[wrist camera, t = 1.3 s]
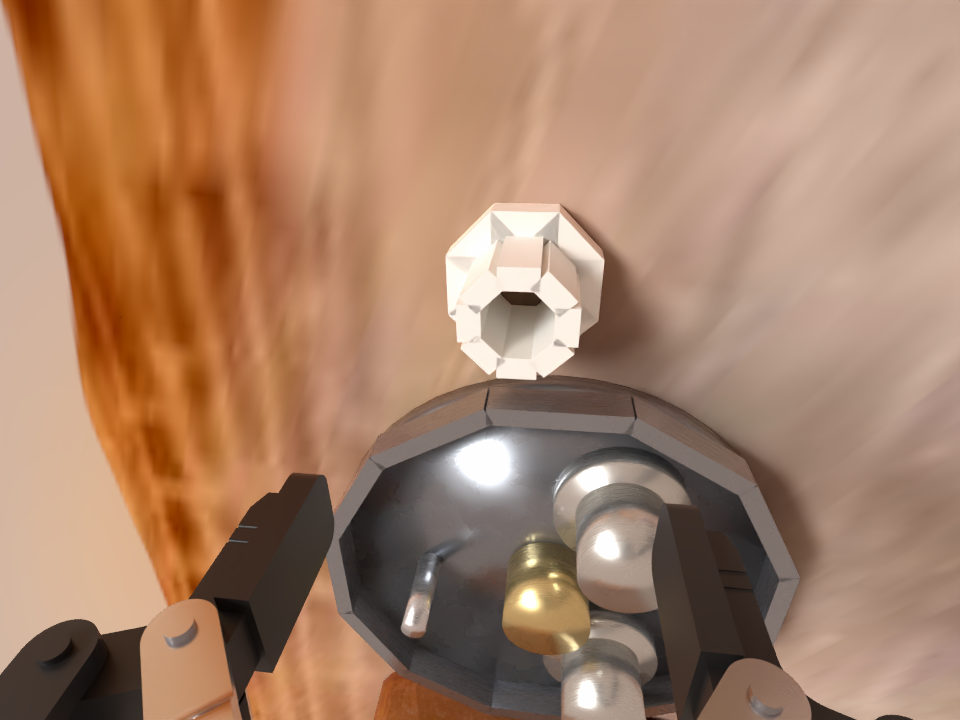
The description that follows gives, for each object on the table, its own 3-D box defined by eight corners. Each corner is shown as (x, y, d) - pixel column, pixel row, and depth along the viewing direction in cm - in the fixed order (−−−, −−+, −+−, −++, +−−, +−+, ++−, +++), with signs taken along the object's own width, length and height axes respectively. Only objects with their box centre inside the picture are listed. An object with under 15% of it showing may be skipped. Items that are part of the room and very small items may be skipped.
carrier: (827, 389, 28) (901, 483, 22) (720, 694, 41) (748, 805, 35) (317, 363, 31) (259, 439, 25) (370, 654, 44) (341, 750, 38)
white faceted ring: (606, 204, 25) (617, 241, 20) (592, 345, 28) (599, 405, 24) (449, 201, 26) (424, 236, 21) (454, 339, 29) (434, 396, 25)
